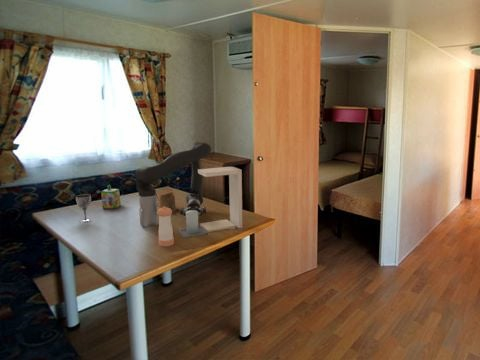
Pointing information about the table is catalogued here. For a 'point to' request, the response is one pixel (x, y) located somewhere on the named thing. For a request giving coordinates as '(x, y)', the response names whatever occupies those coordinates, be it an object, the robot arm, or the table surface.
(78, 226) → the table surface
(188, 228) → the pale grey cylinder
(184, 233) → the tray
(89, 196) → the wine glass
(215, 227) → the white c-shaped stand
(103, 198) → the decorated lidded jar
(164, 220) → the pepper shaker
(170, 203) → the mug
